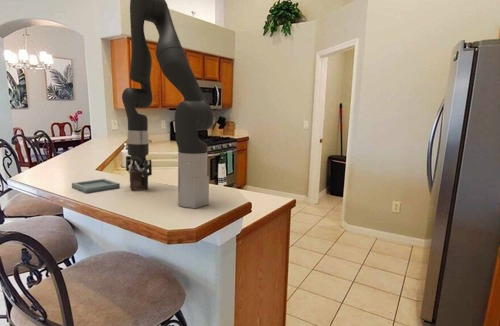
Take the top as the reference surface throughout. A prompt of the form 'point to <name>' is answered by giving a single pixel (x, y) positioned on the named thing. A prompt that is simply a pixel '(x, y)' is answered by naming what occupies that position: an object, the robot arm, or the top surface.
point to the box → (136, 180)
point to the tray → (95, 185)
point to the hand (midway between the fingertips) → (138, 184)
